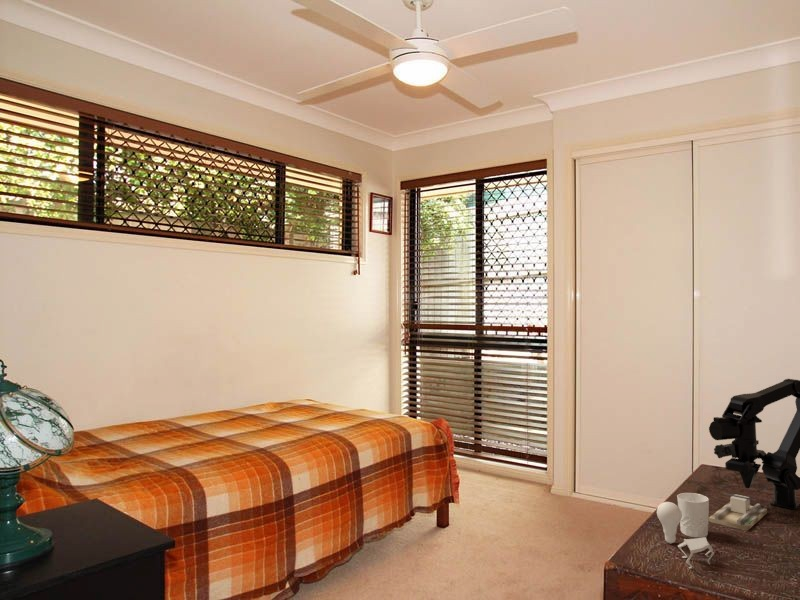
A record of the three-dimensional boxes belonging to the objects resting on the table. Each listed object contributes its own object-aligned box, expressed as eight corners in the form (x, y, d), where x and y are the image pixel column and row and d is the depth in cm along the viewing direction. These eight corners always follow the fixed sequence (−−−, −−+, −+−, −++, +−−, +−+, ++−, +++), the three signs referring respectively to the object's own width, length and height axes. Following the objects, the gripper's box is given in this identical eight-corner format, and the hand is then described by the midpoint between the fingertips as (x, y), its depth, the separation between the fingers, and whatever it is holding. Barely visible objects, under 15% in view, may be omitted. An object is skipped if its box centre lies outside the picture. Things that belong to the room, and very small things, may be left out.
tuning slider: (726, 505, 175) (725, 491, 175) (760, 512, 168) (759, 498, 168) (721, 508, 172) (720, 494, 172) (755, 516, 165) (755, 501, 165)
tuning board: (730, 505, 178) (730, 497, 178) (767, 513, 171) (766, 505, 171) (709, 521, 166) (708, 513, 166) (747, 530, 159) (746, 522, 159)
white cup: (709, 529, 161) (707, 494, 161) (711, 540, 154) (709, 503, 154) (678, 526, 164) (676, 491, 164) (679, 536, 157) (677, 500, 157)
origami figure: (678, 550, 149) (678, 532, 149) (715, 557, 144) (714, 537, 144) (674, 570, 138) (673, 550, 138) (713, 577, 134) (712, 556, 134)
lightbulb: (685, 548, 149) (684, 506, 150) (661, 547, 151) (659, 506, 151) (679, 539, 155) (677, 498, 155) (655, 538, 157) (653, 498, 157)
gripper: (727, 428, 187) (729, 475, 187) (705, 439, 175) (708, 490, 174) (766, 433, 179) (768, 482, 179) (746, 445, 166) (749, 498, 166)
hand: (747, 487), depth 175 cm, fingers closed
